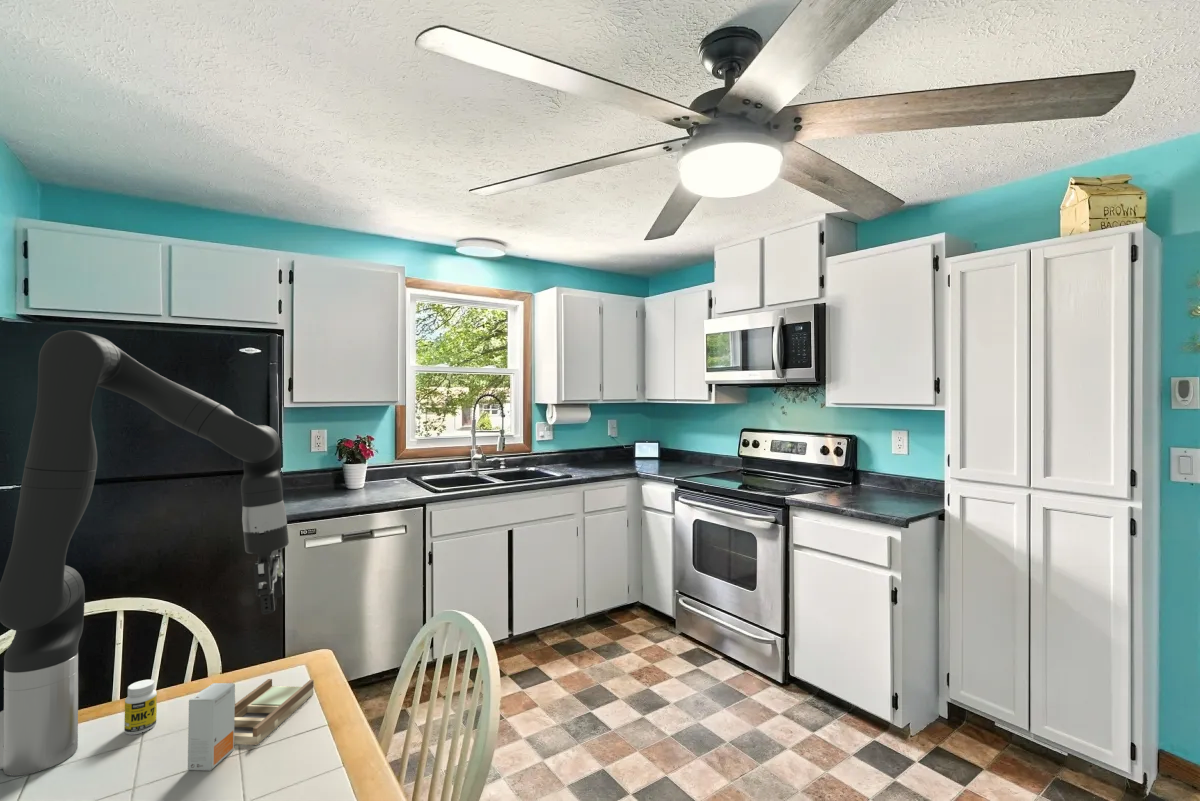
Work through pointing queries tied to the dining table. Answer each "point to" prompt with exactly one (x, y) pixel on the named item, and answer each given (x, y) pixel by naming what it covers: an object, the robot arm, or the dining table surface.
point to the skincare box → (211, 726)
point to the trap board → (266, 710)
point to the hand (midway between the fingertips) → (272, 605)
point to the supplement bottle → (140, 707)
